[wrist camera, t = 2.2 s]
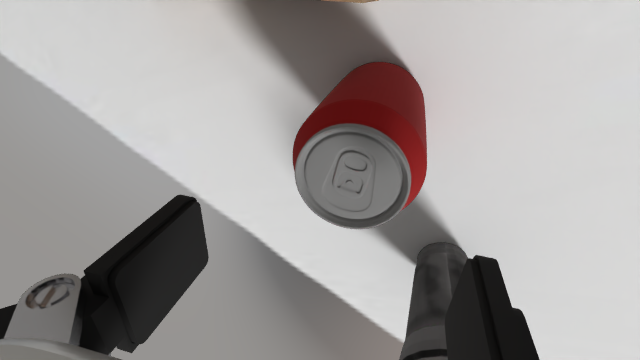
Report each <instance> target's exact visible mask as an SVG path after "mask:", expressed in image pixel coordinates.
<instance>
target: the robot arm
mask: <svg viewBox="0 0 640 360" xmlns="http://www.w3.org/2000/svg"><path fill="white" fill-rule="evenodd" d="M207 262H208V250H207V245H206V238H205V232H204V226H203V220H202V214H201V207H200V204H199V203H198V202H197V200H196V199H195V198H194V197H189V196H184V195H177V196H176V197H174V198H173V199H172V200H171V201H169V202H168V203H167V204H166V205H164V206H163V207H162V208H161V209H159V210H158V211H157V212H156V213H155V214H153V215H152V216H151V217H150V218H148V219H147V220H146V221H145V222H143V223H142V224H141V225H140V226H138V227H137V228H136V229H135V230H134V231H132V232H131V233H130V234H128V235H127V236H126V237H125V238H124V239H122V240H121V241H120V242H119V243H117V244H116V245H115V246H114V247H112V248H111V249H110V250H109V251H107V252H106V253H105V254H104V255H103V256H101V257H100V258H99V259H98V260H96V261H95V262H94V263H93V264H91V265H90V266H89V267H88V268H86V269H85V270H84V273H85V276H84V277H83V278H81V279H80V278H79V277H78V276H76V275H73V274H59V275H54V276H51V277H48V278H45V279H43V280H41V281H39V282H37V283H36V284H34V285H33V286H31V287H30V288H29V289H28V290H27V291H25V293H23V295H22V296H21V298H20V299H19V301H18V304H16V305H12V306H8V307H5V308H2V309H0V360H121V359H118V358H115V357H112V356H111V352H112V351H113V349H114V348H115V347H116V346H117V348H118V349H120V350H123V351H127V352H130V353H132V352H133V351H134V350H135V349H136V347H137V346H138V345H139V344H142V343H144V342H145V341H146V340H147V339H148V337H149V336H150V335H151V334H152V333H153V331H154V330H155V329H156V328H157V326H158V325H159V324H160V322H161V321H162V320H163V319H164V318H165V316H166V315H167V314H168V313H169V311H170V310H171V308H172V307H173V306H174V305H175V304H176V302H177V301H178V300H179V299H180V297H181V296H182V295H183V294H184V292H185V291H186V290H187V289H188V287H189V286H190V285H191V284H192V282H193V281H194V280H195V279H196V277H197V276H198V275H199V274H200V272H201V271H202V270H203V269H204V267H205V266H206V264H207ZM445 335H446V346H447V357H448V360H539V357H538V354H537V351H536V348H535V345H534V343H533V340H532V337H531V334H530V331H529V328H528V325H527V322H526V319H525V317H524V315H523V313H522V311H521V310H520V309H516V308H512V306H511V303H510V300H509V296H508V293H507V290H506V287H505V284H504V281H503V277H502V274H501V271H500V268H499V265H498V262H497V260H496V259H493V258H488V257H483V256H478V255H475V256H474V258H473V259H470V258H468V259H467V260H466V263H465V265H464V268H463V271H462V273H461V276H460V279H459V281H458V284H457V286H456V289H455V292H454V294H453V297H452V300H451V302H450V305H449V308H448V310H447V313H446V316H445Z"/></svg>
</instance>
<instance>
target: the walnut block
mask: <svg viewBox="0 0 640 360" xmlns="http://www.w3.org/2000/svg"><path fill="white" fill-rule="evenodd" d="M323 1H339V2H355V3H366V2H372V1H378V0H323Z"/></svg>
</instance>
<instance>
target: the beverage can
mask: <svg viewBox="0 0 640 360" xmlns="http://www.w3.org/2000/svg"><path fill="white" fill-rule="evenodd" d="M293 166H294V170H295V180H296V185H297V188H298V191H299V193H300V195H301V197H302V199H303V200H304V202H305V203H306V204H307V206H308V207H309V208H310V209H311V210H312V211H313V212H314V213H315V214H317V215H318V216H319V217H321V218H322V219H324V220H326V221H328V222H330V223H332V224H334V225H337V226H340V227H344V228H350V229H367V228H372V227H376V226H379V225H382V224H384V223H386V222H388V221H389V220H391V219H392V218H394V217H395V216H396V215H397V214H398V213H399V212H400V211H401V210H403V209H404V208H405V207H407V206H408V205H409V204H410V203H411V202H412V201H413V200H414V198H415V197H416V196H417V194H418V193H419V191H420V189H421V187H422V185H423V183H424V180H425V176H426V170H427V142H426V120H425V106H424V97H423V93H422V91H421V88H420V86H419V84H418V83H417V81H416V80H415V78H414V77H413V76H412V75H411V74H410V73H409V72H407V71H406V70H404V69H403V68H401V67H399V66H397V65H394V64H391V63H386V62H373V63H368V64H365V65H362V66H360V67H358V68H356V69H354V70H353V71H351V72H350V73H349V74H348V75H347V76H346V77H345V78H344V79H343V80H342V81H341V82H340V83H339V84H338V85H337V86H336V87H335V88H334V89H333V90H332V91H331V92H330V93H329V94H328V96H327V97H326V98H325V99H324V100H323V101H322V102H321V103H320V104H319V106H318V107H317V108H316V109H315V110H314V111H313V113H312V114H311V115H310V116H309V117H308V118H307V120H306V121H305V122H304V123H303V125H302V126H301V128H300V129H299V131H298V133H297V136H296V138H295V142H294V146H293Z"/></svg>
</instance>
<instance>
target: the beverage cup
mask: <svg viewBox="0 0 640 360" xmlns="http://www.w3.org/2000/svg"><path fill="white" fill-rule="evenodd" d="M467 259H468V257H467V255H466V253H465V252H464V251H463V250H462V249H461V248H459V247H457V246H455V245H453V244H448V243H434V244H430V245H428V246H426V247H425V248H423V249H422V250H421V251H420V253H419V255H418V258H417V265H416V268H415V274H414V281H413V288H412V295H411V303H410V310H409V317H408V324H407V331H406V338H405V342H404V345H403V348H402V351H401V355H400V359H399V360H448V357H447V346H446V335H445V316H446V313H447V310H448V308H449V305H450V302H451V300H452V297H453V294H454V292H455V289H456V286H457V284H458V281H459V279H460V276H461V273H462V271H463V268H464V265H465V263H466V260H467Z"/></svg>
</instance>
